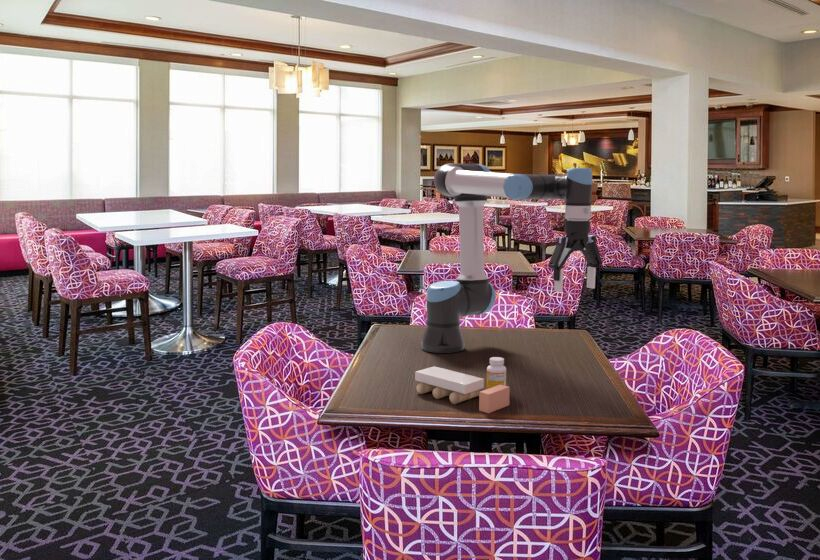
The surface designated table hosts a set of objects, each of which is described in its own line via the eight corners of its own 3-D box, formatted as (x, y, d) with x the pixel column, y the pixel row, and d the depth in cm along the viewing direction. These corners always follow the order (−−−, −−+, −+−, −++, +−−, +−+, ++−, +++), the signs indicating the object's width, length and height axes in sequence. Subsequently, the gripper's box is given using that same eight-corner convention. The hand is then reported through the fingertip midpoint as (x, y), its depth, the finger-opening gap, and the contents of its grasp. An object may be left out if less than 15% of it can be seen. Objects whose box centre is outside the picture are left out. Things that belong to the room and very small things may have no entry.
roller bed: (416, 392, 190) (416, 382, 189) (440, 385, 197) (440, 375, 196) (458, 405, 179) (458, 394, 179) (481, 396, 187) (481, 386, 186)
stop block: (479, 410, 175) (479, 391, 175) (499, 402, 182) (500, 384, 181) (488, 413, 173) (488, 394, 172) (509, 405, 180) (509, 386, 179)
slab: (415, 380, 191) (415, 371, 191) (434, 374, 197) (434, 366, 196) (465, 394, 179) (465, 384, 178) (483, 387, 184) (484, 378, 184)
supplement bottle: (492, 388, 194) (492, 355, 193) (509, 391, 191) (510, 358, 190) (482, 393, 190) (483, 359, 188) (500, 396, 187) (501, 362, 185)
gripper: (555, 221, 195) (553, 294, 198) (616, 219, 208) (612, 288, 211) (537, 220, 202) (535, 291, 205) (597, 218, 215) (594, 285, 218)
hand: (574, 289), depth 208 cm, fingers open, 13 cm apart
